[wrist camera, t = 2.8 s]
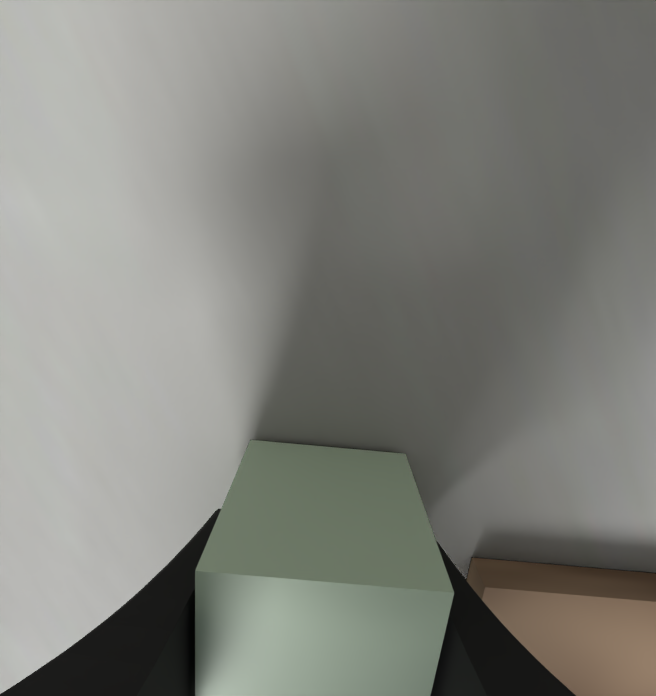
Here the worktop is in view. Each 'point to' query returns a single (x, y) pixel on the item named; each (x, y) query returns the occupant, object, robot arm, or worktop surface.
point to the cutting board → (577, 621)
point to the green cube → (320, 579)
